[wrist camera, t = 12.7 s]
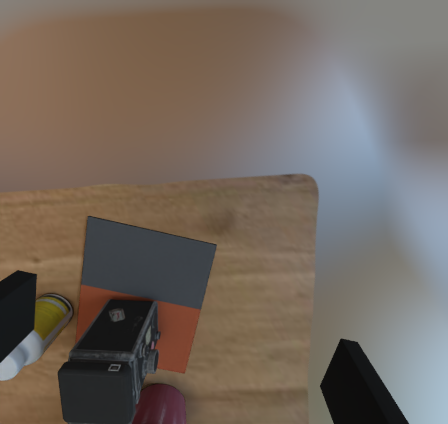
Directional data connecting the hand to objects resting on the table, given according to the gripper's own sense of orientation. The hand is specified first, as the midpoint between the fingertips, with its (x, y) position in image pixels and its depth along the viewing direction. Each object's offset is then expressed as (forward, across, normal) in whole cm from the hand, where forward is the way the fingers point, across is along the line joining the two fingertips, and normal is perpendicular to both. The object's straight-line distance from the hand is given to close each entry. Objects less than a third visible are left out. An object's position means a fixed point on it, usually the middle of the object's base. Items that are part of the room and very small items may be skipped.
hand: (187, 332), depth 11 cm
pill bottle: (+29, -22, -26) cm, 45 cm away
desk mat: (+29, -8, -21) cm, 36 cm away
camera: (+29, -8, -25) cm, 39 cm away
